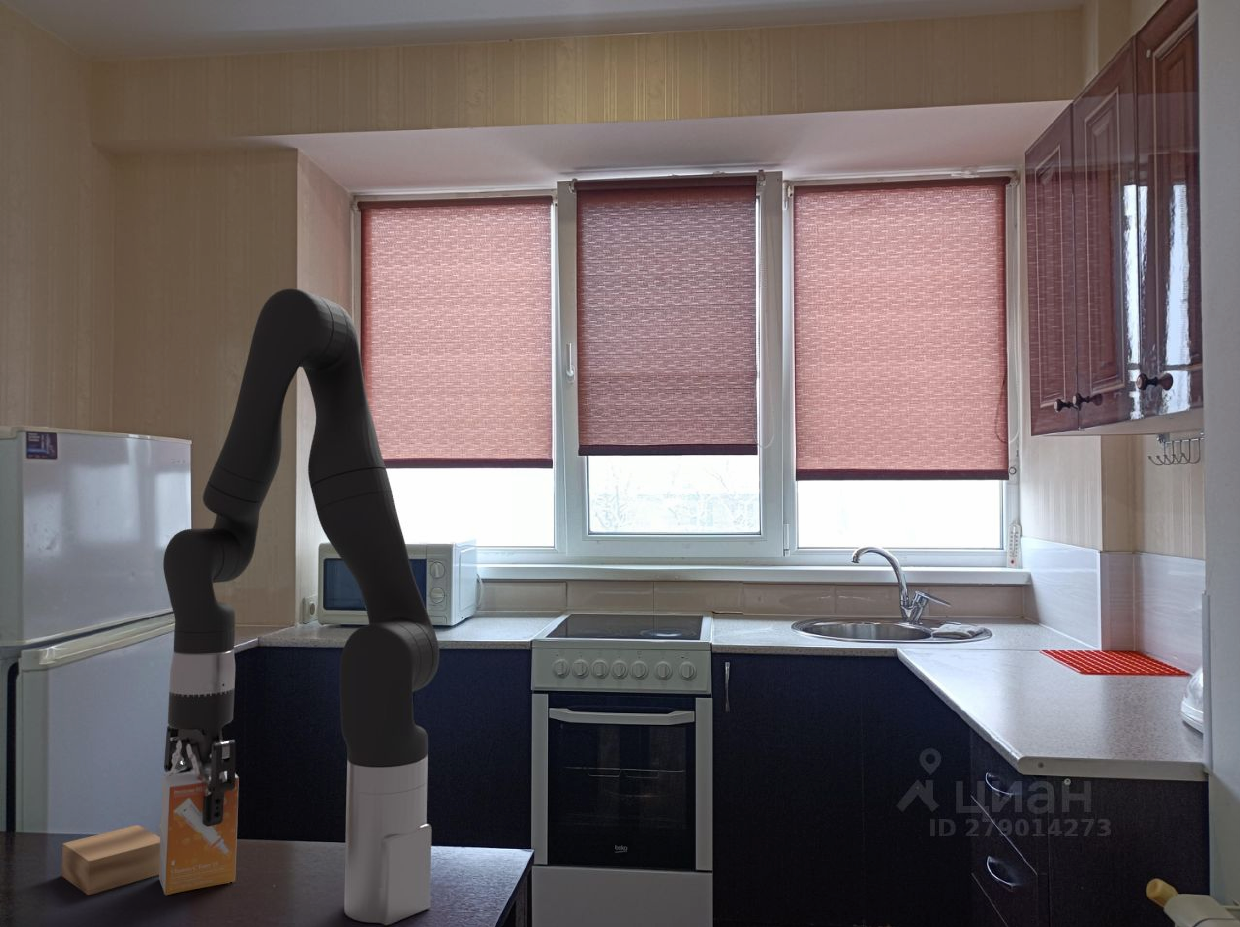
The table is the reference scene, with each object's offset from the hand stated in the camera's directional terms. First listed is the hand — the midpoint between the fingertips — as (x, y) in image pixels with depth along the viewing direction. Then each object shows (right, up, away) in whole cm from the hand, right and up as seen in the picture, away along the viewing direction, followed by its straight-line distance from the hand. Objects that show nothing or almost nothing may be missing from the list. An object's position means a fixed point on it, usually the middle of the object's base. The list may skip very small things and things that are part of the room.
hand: (196, 816), depth 112 cm
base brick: (-11, -8, +1) cm, 14 cm away
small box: (0, -8, -1) cm, 8 cm away
